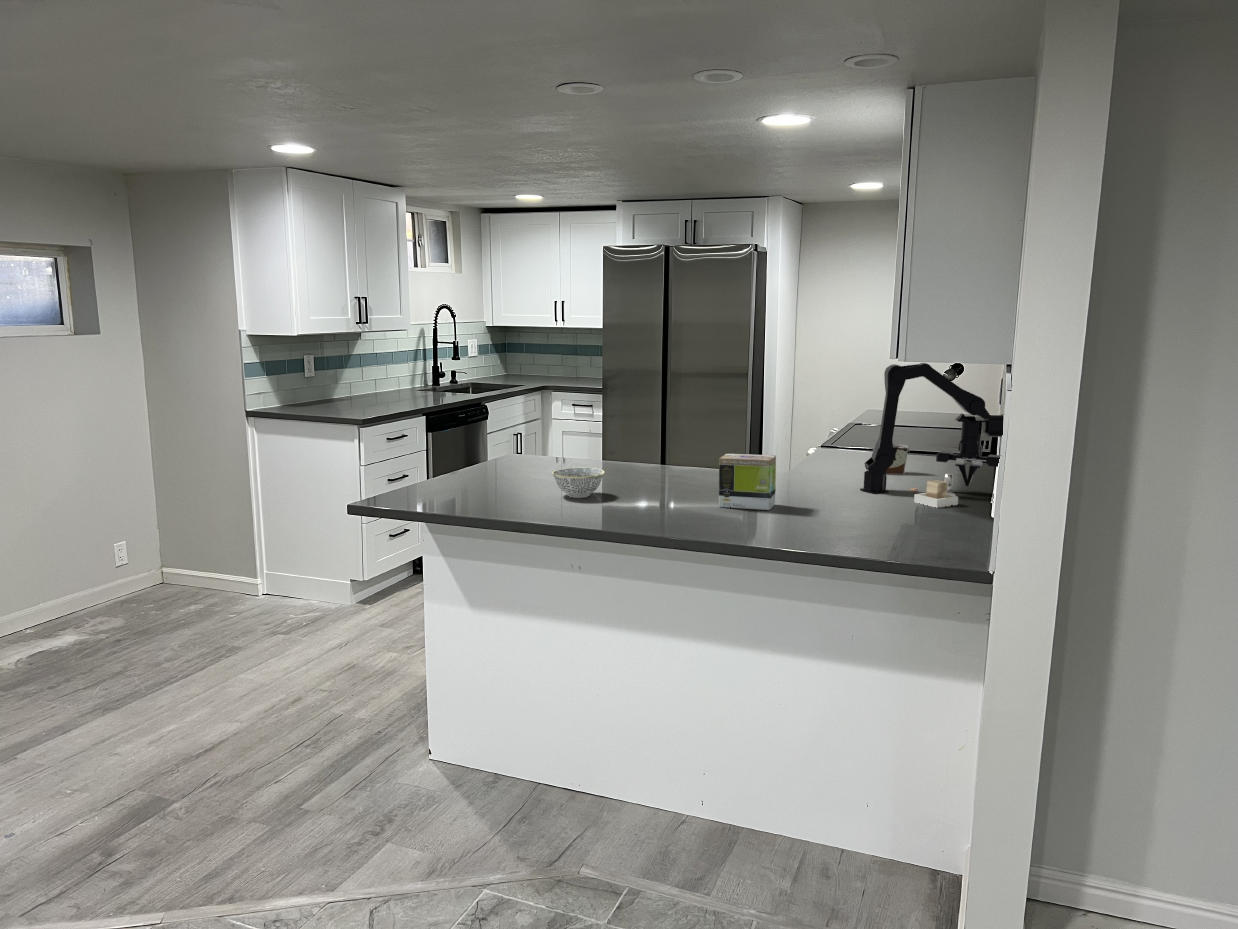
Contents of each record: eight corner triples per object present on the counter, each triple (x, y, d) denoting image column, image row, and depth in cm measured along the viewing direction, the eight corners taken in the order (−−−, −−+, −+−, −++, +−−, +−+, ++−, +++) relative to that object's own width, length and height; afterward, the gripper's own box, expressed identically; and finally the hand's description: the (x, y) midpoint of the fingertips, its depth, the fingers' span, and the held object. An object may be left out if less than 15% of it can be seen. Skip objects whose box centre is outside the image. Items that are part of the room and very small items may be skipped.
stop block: (936, 503, 263) (937, 483, 262) (925, 501, 267) (927, 481, 266) (946, 502, 265) (947, 482, 264) (935, 499, 269) (936, 480, 268)
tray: (936, 507, 260) (937, 499, 260) (914, 502, 268) (914, 494, 267) (957, 504, 264) (958, 496, 264) (934, 499, 272) (935, 491, 271)
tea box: (775, 504, 265) (777, 454, 262) (769, 511, 256) (770, 460, 253) (725, 500, 270) (726, 451, 267) (717, 507, 261) (718, 457, 258)
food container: (904, 471, 318) (906, 443, 317) (908, 474, 312) (909, 446, 311) (868, 470, 320) (870, 442, 318) (871, 473, 314) (873, 445, 312)
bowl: (549, 500, 269) (549, 476, 268) (555, 490, 285) (555, 466, 283) (603, 501, 268) (603, 476, 267) (605, 490, 284) (605, 467, 283)
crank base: (942, 500, 270) (942, 497, 270) (902, 491, 284) (902, 488, 284) (961, 497, 274) (961, 494, 274) (920, 488, 288) (921, 485, 288)
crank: (945, 494, 273) (946, 480, 273) (935, 493, 275) (936, 479, 274) (953, 487, 283) (954, 474, 282) (943, 486, 285) (944, 473, 284)
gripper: (1007, 435, 279) (1003, 484, 282) (944, 431, 289) (941, 479, 291) (1002, 439, 270) (998, 491, 272) (937, 435, 279) (934, 484, 282)
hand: (967, 486), depth 280 cm, fingers closed
